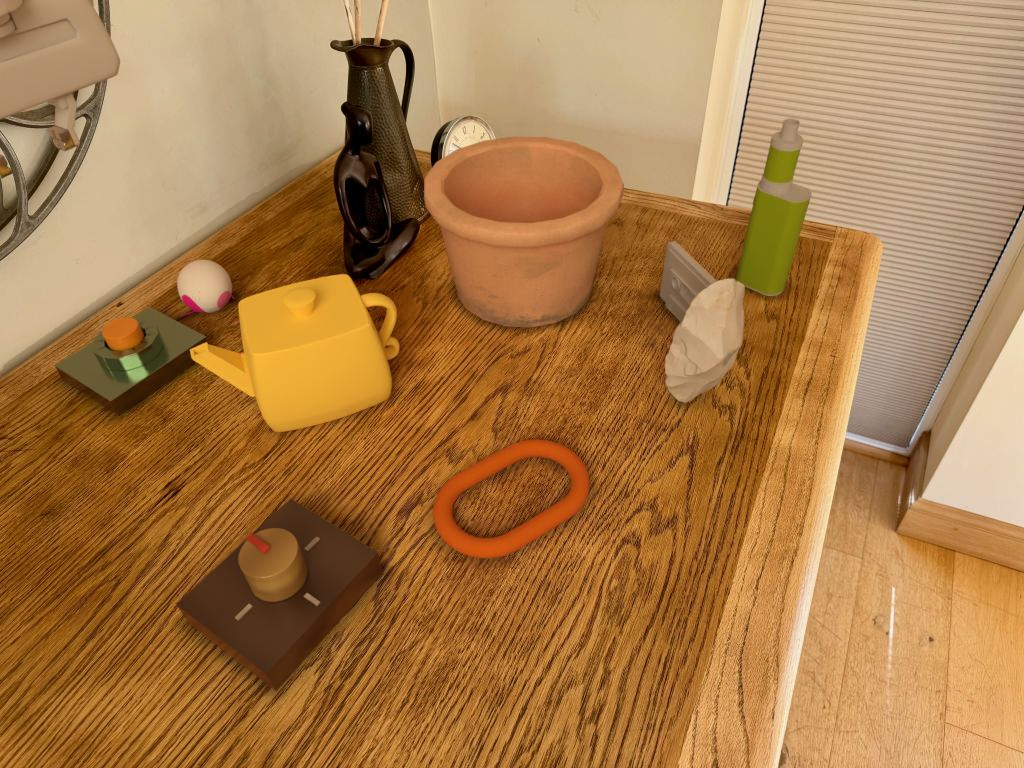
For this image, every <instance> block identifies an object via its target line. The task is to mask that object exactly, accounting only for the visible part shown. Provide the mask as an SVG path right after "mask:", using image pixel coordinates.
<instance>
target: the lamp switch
mask: <svg viewBox="0 0 1024 768" xmlns="http://www.w3.org/2000/svg"><path fill="white" fill-rule="evenodd" d="M132 318H134V319H136V320H137V321H138V323H139V325H140V327H141V330H142V332H143V334H144V338H143V340H142V341H141V343H139V344H137V345H136V346H134V347H133V348H129V349H126V350H123V351H115V350H112V349H111V348H109V346H108V344H107V342H106V340H105V339H104V337H103V335H102V330H101V331H99V332H98V334H97V335H96V337H94V339H93V340H92V342H89V344H87V345H85V346H83V347H82V348H80V349H79V350H77V351H75V352H74V353H72V354H71V355H69V356H67V357H65V358H64V359H62V360H61V361H59V362H57V363H56V364H53V365H54V368H55V369H56V371H57V373H58V374H59V376H60V377H61V379H62V380H63V382H65V383H66V384H69V385H70V386H72V387H73V388H75V389H76V390H78V391H79V392H81V393H82V394H84V395H85V396H87V397H89V398H90V399H92V400H93V401H95V402H97V403H98V404H100V405H101V406H103V407H104V408H106V409H107V410H109V411H110V412H111V413H113V414H115V415H116V416H118V417H120V416H122V415H123V414H124V413H125V412H127V411H128V410H130V409H131V408H132V407H134V406H135V405H137V404H138V403H140V402H141V401H143V400H144V399H146V398H147V397H148V396H150V395H151V394H153V393H154V392H156V391H158V390H159V389H160V388H162V387H163V386H164V385H166V384H167V383H169V382H171V381H172V380H173V379H175V378H176V377H177V376H179V375H180V374H182V373H183V372H184V371H186V370H187V369H189V368H190V367H192V366H193V365H195V364H196V363H197V362H195V361H194V360H193V359H192V358H191V353H190V349H192V348H195V347H197V346H199V345H201V344H203V343H206V342H207V343H208V344H209V345H211V343H209V339H208V338H207V337H208V336H206V335H205V334H202V333H200V332H198V331H196V330H194V329H192V328H191V327H189V326H188V325H185V324H184V323H181V322H179V321H177V320H175V319H174V318H172V317H170V316H168V315H166V314H164V313H162V312H161V311H159V310H158V309H157V310H156V309H155V308H153V307H151V306H149V307H147V308H146V309H144V310H142V311H141V312H139V313H138V314H135V315H134V316H133V317H132Z"/></svg>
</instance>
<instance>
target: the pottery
mask: <svg viewBox="0 0 1024 768" xmlns="http://www.w3.org/2000/svg"><path fill="white" fill-rule="evenodd" d="M423 185H424V186H423V193H424V194H423V199H424V207H425V208H426V210H427V211H428V213H429V214H430V215H431V216H432V218H433V219H434V220H435V222H436V223H437V225H438V226H439V228H440V232H441V236H442V239H443V244H444V247H445V252H446V255H447V259H448V263H449V267H450V270H451V275H452V277H453V282H454V285H455V289H456V294H457V298H458V299H459V300H460V302H461V304H462V305H463V307H464V308H465V309H466V310H467V311H469V312H470V313H471V314H473V315H474V316H477V317H478V318H480V319H481V320H483V321H485V322H488V323H492V324H495V325H499V326H503V327H507V328H527V329H529V328H530V329H532V328H537V327H543V326H547V325H552V324H556V323H558V322H560V321H562V320H565V319H567V318H569V317H572V316H573V315H575V314H577V313H578V311H580V310H581V309H582V307H584V306H585V305H586V304H587V302H589V299H590V296H591V293H592V290H593V285H594V279H595V275H596V271H597V266H598V263H599V258H600V255H601V249H602V246H603V242H604V237H605V233H606V228H607V224H608V222H609V221H610V220H611V219H612V218H613V217H614V216H616V214H618V211H619V209H620V205H621V203H622V202H621V201H622V198H623V195H624V187H625V184H624V181H623V179H622V177H621V174H620V172H619V169H618V167H617V165H616V164H614V163H613V162H612V161H611V160H610V159H608V158H607V157H606V156H605V155H604V154H602V153H601V152H600V151H597V150H596V149H595V150H594V149H592V148H590V147H587V146H584V145H582V144H580V143H577V142H574V141H570V140H569V141H568V140H564V139H559V138H553V137H548V136H508V137H501V138H494V139H493V138H492V139H486V140H482V141H478V142H475V143H472V144H470V145H466V146H464V147H460V148H457V149H455V150H453V151H452V152H450V153H448V154H446V156H444V157H442V158H441V159H439V160H437V161H436V162H435V163H434V165H433V166H432V167H431V169H430V170H429V171H428V173H427V174H426V175H425V177H424V180H423Z"/></svg>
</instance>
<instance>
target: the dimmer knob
mask: <svg viewBox="0 0 1024 768" xmlns="http://www.w3.org/2000/svg"><path fill="white" fill-rule="evenodd" d="M245 538H246V539H247V541H246V542H245V543H244V545H243V546H242V548H241V550H240V552H239V557H238V562H239V566H240V568H241V570H242V572H243V574H244V576H245V578H246V580H247V582H248V584H249V586H250V588H251V590H252V592H253V593H254V595H255V596H256V597H258V598H259V599H261V600H264V601H268V602H277V601H281V600H285V599H287V598H289V597H291V596H292V595H294V594H295V593H296V592H298V591H299V590H300V588H301V587H302V586H303V584H304V583H305V580H306V577H307V565H306V562H305V560H304V557H303V555H302V552H301V550H300V547H299V544H298V542H297V539H296V538H295V536H294V535H293V534H292V533H291V532H289V531H287V530H285V529H281V528H270V529H265V530H262V531H260V532H258V533H256V534H253V532H251V533H250V534H249V535H247V536H246V537H245ZM246 539H245V540H246Z"/></svg>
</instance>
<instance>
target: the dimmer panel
mask: <svg viewBox="0 0 1024 768" xmlns="http://www.w3.org/2000/svg"><path fill="white" fill-rule="evenodd" d="M270 528H281V529H285V530H287V531H289V532H291V533H292V534H293V535H294V536H295V538H296V539H297V542H298V544H299V547H300V550H301V552H302V555H303V557H304V560H305V562H306V565H307V577H306V580H305V583H304V584H303V586H302V587H301V588H300V590H299V591H298V592H296V593H295V594H294V595H292V596H291V597H289V598H287V599H285V600H281V601H277V602H268V601H264V600H261V599H259V598H258V597H256V596H255V595H254V593H253V592H252V590H251V588H250V586H249V584H248V582H247V580H246V578H245V576H244V574H243V572H242V570H241V568H240V566H239V562H238V557H239V552H240V550H241V548H242V546H243V545H244V543H245V542H246V541H247V539H245V540H243V542H241V544H240V545H238V546H237V547H236V548H235V549H234V550H233V551H232V552H231V553H229V554H228V555H227V556H226V557H225V558H224V559H223V560H222V561H221V562H220V563H219V564H218V565H217V566H215V567H214V568H213V569H212V570H211V571H210V572H209V573H208V574H207V575H206V576H205V577H203V578H202V579H201V580H200V581H199V582H198V583H197V584H195V586H194V587H193V588H191V589H190V590H189V591H188V592H187V593H186V594H185V595H184V596H183V597H182V598H181V599H180V600H178V601H177V602H176V603H175V605H176V606H177V608H178V610H179V611H180V613H181V615H183V617H184V618H185V621H186V622H187V623H188V624H189V625H190V626H192V628H194V629H196V630H197V631H198V632H199V633H201V634H202V635H203V636H204V637H205V638H207V639H208V640H209V641H210V642H212V643H213V644H215V646H217V647H218V648H220V649H221V650H222V651H223V652H224V653H226V654H227V655H228V656H230V657H231V658H232V659H234V661H236V662H237V663H239V664H240V665H241V666H243V668H244V669H246V670H247V671H249V672H250V673H251V674H253V675H254V676H255V677H257V678H258V680H260V681H261V682H263V683H264V684H265V685H267V686H268V687H269V688H270V689H271V690H273V692H278V691H279V689H280V688H281V687H282V686H283V684H285V682H286V681H287V680H288V679H289V678H290V677H291V676H292V675H293V673H294V672H295V671H296V670H297V668H299V667H300V666H301V665H302V663H304V661H305V660H306V659H307V658H308V657H309V656H310V655H311V653H312V652H313V651H314V650H315V649H316V648H317V647H318V645H319V644H320V643H322V641H323V640H324V639H325V638H326V637H327V635H328V634H330V632H331V631H332V630H333V629H334V628H335V627H336V625H338V623H339V622H340V621H341V620H342V618H343V617H344V616H345V615H346V614H347V613H348V612H349V611H350V610H351V608H353V607H354V606H355V604H356V603H357V602H358V601H359V600H360V599H361V598H362V596H363V595H365V593H366V592H367V591H369V589H370V588H371V586H372V585H373V584H374V583H375V582H376V581H377V580H378V579H379V577H380V576H381V575H382V574H383V573H384V570H383V565H382V562H381V558H380V554H379V552H378V551H377V550H375V549H373V548H372V547H371V546H369V545H367V544H366V543H364V542H362V541H361V540H360V539H358V538H356V537H354V536H353V535H351V534H349V533H348V532H346V531H344V530H343V529H341V528H340V527H338V526H336V525H335V524H334V523H332V522H330V521H328V520H326V519H325V518H324V517H322V516H320V515H319V514H317V513H315V512H314V511H313V510H311V509H309V508H307V507H306V506H305V505H303V504H301V503H299V502H298V501H296V500H294V499H293V498H289V499H288V500H287V501H286V502H285V503H284V504H283V505H282V506H281V507H279V508H278V509H277V511H275V512H274V513H273V514H272V515H271V516H269V518H268V519H267V520H265V522H263V524H261V525H260V526H259V527H257V529H255V530H254V532H252V534H256V533H258V532H260V531H262V530H265V529H270Z"/></svg>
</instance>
